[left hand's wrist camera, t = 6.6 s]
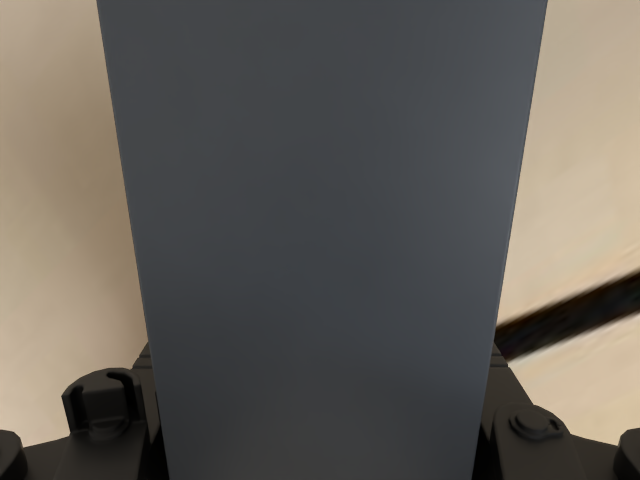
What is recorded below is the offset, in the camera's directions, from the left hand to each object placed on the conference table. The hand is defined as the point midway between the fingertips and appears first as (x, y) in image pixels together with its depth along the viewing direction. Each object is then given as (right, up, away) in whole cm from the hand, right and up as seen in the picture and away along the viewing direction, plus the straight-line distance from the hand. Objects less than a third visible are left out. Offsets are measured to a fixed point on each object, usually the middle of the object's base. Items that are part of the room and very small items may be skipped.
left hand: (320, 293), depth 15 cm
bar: (0, -24, +10) cm, 26 cm away
